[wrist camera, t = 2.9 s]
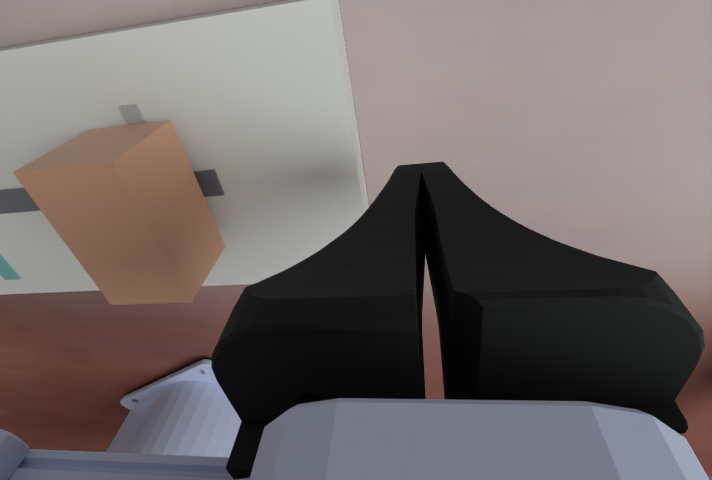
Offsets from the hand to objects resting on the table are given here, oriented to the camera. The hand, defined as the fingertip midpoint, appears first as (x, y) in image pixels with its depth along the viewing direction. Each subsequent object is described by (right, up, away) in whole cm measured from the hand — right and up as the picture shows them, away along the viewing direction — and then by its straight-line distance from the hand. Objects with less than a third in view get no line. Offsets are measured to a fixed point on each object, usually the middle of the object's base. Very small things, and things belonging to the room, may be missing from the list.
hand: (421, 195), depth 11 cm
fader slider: (-9, 0, +3) cm, 9 cm away
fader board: (-14, +1, +5) cm, 15 cm away
